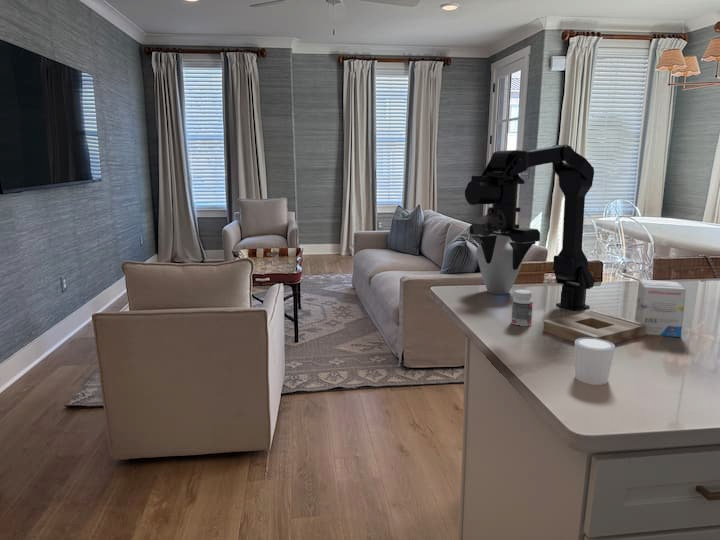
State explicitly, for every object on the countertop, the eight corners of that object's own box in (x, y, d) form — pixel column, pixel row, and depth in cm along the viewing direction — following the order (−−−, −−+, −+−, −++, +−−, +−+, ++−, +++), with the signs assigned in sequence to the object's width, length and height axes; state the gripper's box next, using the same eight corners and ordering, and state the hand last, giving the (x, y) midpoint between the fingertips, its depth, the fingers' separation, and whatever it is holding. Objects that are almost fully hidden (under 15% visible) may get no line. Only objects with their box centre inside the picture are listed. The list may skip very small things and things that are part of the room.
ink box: (672, 327, 126) (678, 280, 123) (681, 338, 118) (687, 288, 115) (633, 323, 128) (638, 278, 126) (639, 334, 121) (644, 286, 118)
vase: (474, 286, 169) (477, 210, 164) (519, 287, 166) (524, 210, 161) (475, 296, 155) (478, 214, 150) (524, 299, 152) (529, 215, 147)
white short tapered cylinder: (565, 372, 99) (567, 337, 97) (599, 370, 99) (602, 336, 98) (583, 387, 92) (586, 350, 91) (619, 385, 93) (623, 349, 91)
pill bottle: (532, 327, 126) (534, 294, 125) (512, 325, 127) (514, 293, 125) (529, 321, 131) (532, 289, 129) (510, 320, 132) (512, 288, 130)
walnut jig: (592, 320, 131) (593, 310, 131) (645, 335, 119) (646, 324, 119) (543, 331, 123) (543, 320, 122) (594, 349, 111) (595, 337, 110)
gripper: (453, 202, 128) (451, 263, 132) (508, 207, 112) (504, 276, 116) (487, 200, 134) (484, 259, 137) (543, 205, 118) (539, 271, 121)
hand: (501, 266), depth 127 cm, fingers open, 9 cm apart
